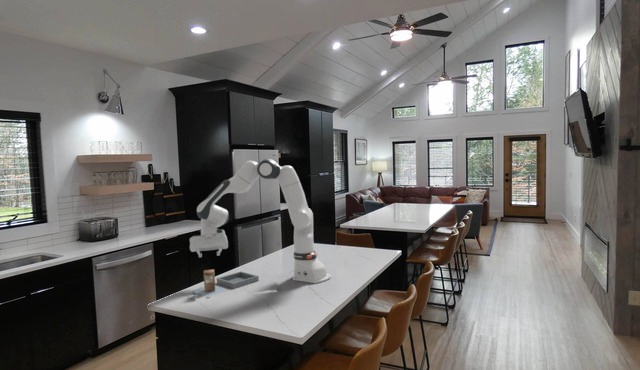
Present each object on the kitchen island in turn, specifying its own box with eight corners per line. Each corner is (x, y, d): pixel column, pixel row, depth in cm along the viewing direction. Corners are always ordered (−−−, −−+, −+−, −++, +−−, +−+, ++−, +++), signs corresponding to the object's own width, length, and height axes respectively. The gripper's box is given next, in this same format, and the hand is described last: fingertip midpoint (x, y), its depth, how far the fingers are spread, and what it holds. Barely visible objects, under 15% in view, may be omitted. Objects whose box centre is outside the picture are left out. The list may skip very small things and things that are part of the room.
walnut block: (215, 288, 200) (214, 269, 199) (215, 291, 195) (213, 271, 194) (205, 289, 199) (204, 270, 198) (204, 292, 194) (203, 273, 193)
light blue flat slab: (228, 291, 196) (227, 289, 196) (206, 298, 188) (206, 296, 187) (213, 286, 206) (212, 284, 206) (192, 292, 197) (192, 291, 197)
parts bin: (258, 282, 209) (258, 276, 209) (234, 290, 198) (233, 283, 198) (241, 277, 220) (241, 271, 220) (216, 284, 209) (216, 278, 208)
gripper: (189, 233, 212) (188, 254, 203) (227, 230, 216) (228, 250, 207) (190, 239, 216) (189, 261, 207) (227, 236, 221) (228, 257, 212)
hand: (209, 255), depth 207 cm, fingers open, 8 cm apart
